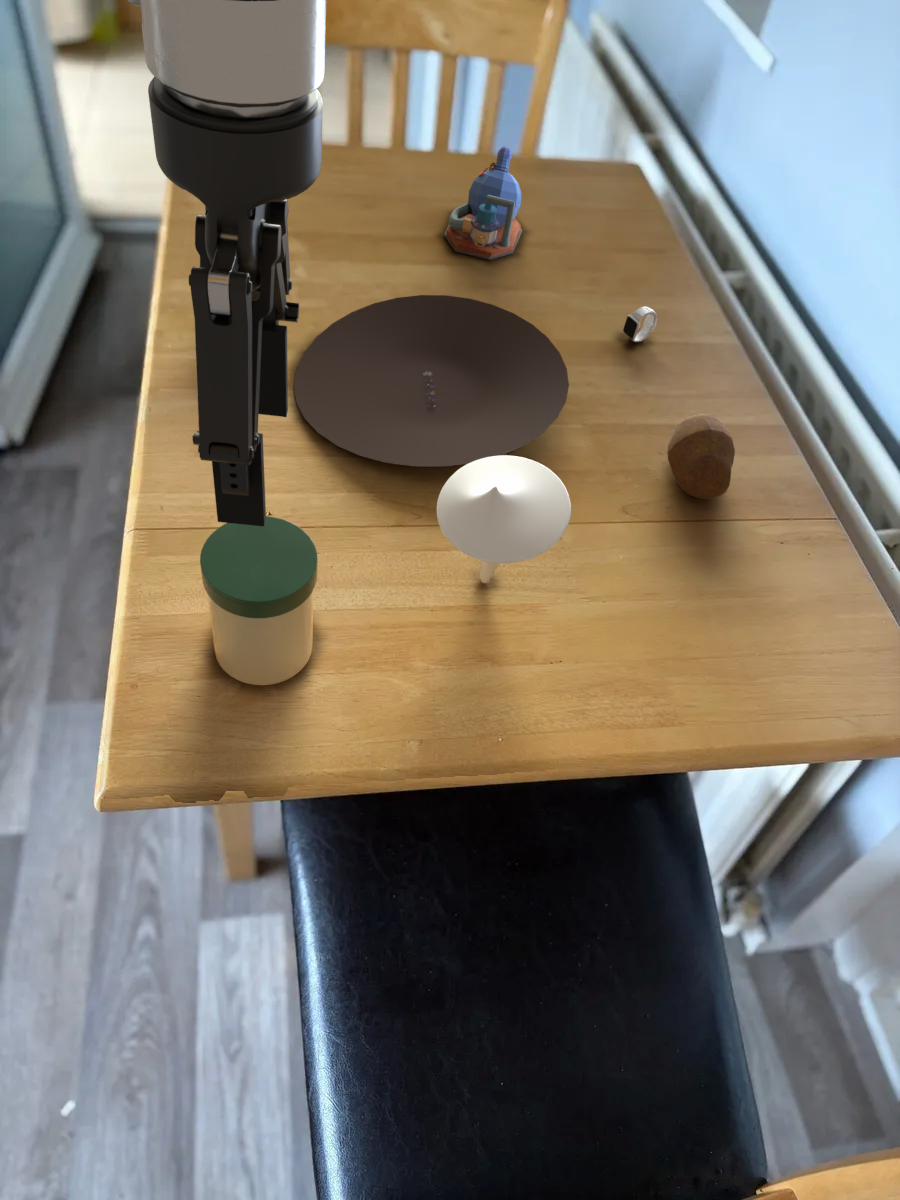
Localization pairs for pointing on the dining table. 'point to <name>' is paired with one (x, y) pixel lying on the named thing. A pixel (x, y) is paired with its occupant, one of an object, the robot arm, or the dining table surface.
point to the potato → (702, 456)
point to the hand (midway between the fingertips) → (255, 462)
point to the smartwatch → (634, 324)
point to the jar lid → (259, 568)
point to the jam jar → (263, 643)
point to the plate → (431, 381)
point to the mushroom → (503, 510)
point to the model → (488, 213)
